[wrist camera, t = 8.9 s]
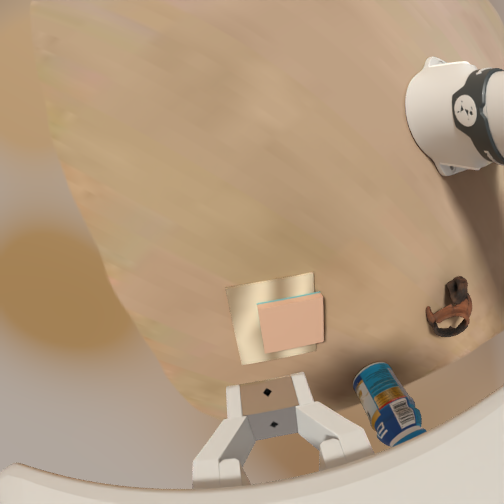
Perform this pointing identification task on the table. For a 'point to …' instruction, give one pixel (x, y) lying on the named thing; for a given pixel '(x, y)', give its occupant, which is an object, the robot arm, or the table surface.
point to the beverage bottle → (387, 404)
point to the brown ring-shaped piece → (453, 309)
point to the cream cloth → (248, 320)
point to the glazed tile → (291, 322)
